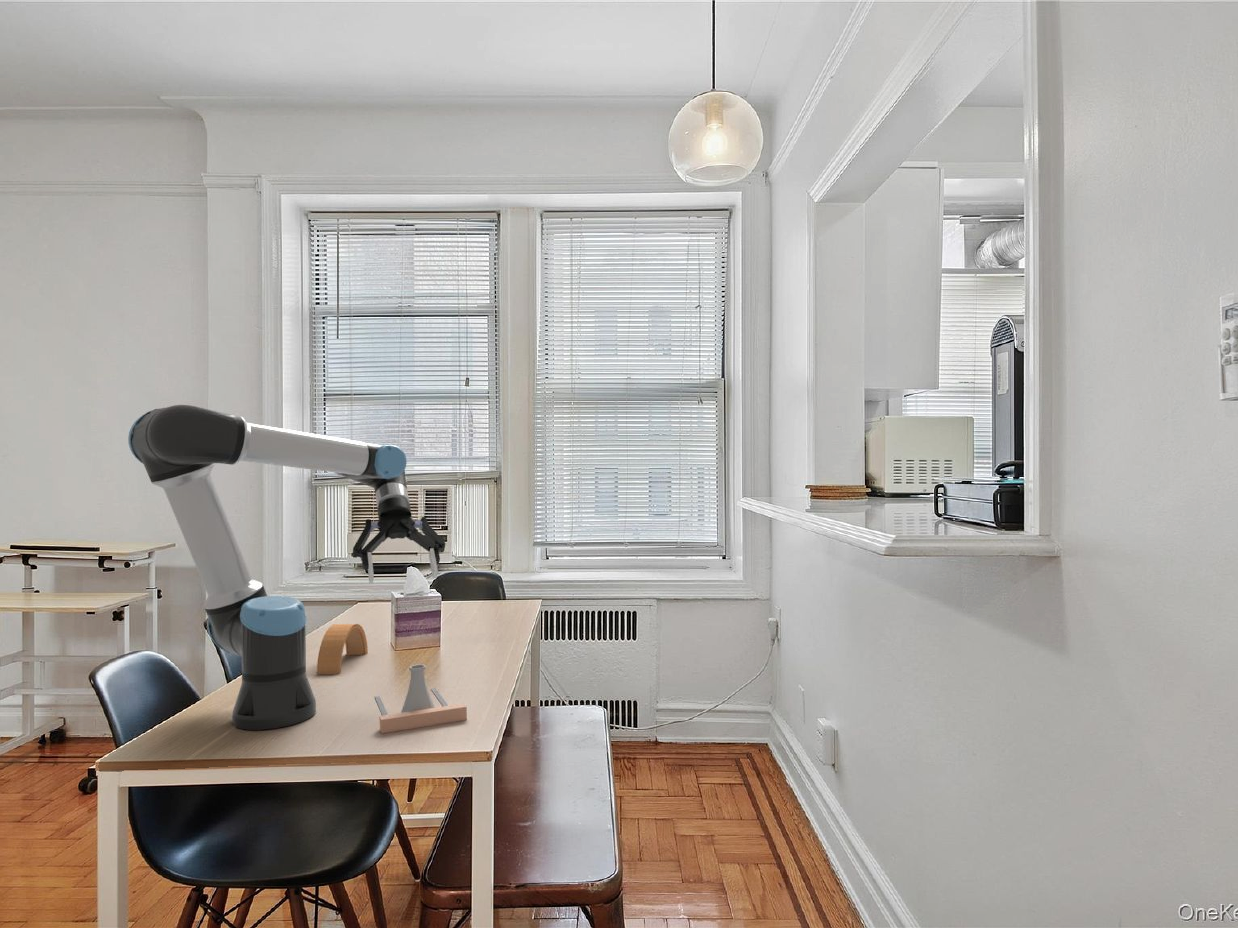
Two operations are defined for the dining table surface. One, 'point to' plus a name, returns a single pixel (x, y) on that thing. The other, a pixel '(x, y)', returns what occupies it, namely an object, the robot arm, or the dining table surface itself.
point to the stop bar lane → (421, 716)
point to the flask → (417, 691)
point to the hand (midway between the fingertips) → (404, 577)
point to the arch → (340, 646)
